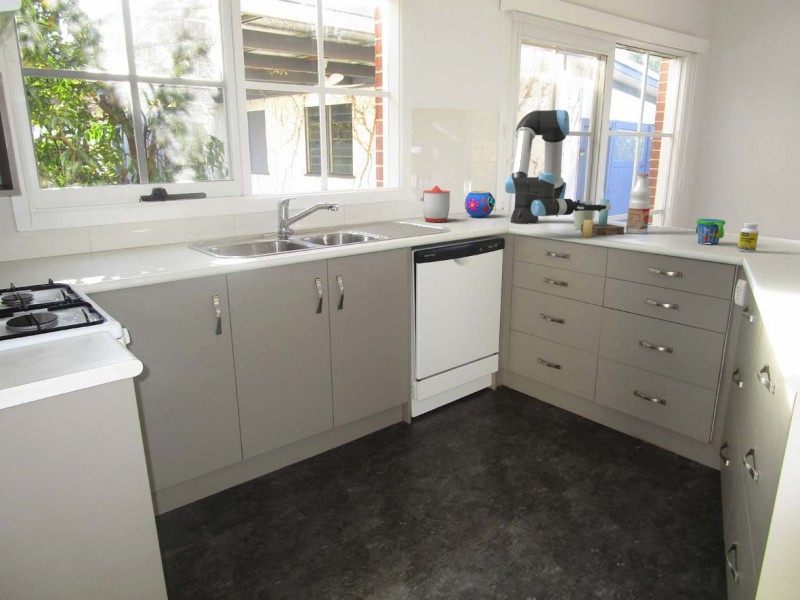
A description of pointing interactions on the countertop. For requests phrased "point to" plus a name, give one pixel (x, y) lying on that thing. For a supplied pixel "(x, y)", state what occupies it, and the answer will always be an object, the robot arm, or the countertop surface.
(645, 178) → the fruit juice
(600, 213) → the tall dowel
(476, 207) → the ceramic pot
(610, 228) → the walnut block
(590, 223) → the short dowel
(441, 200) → the citrus juicer
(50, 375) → the countertop surface
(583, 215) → the can
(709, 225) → the snack cup
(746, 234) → the pill bottle
